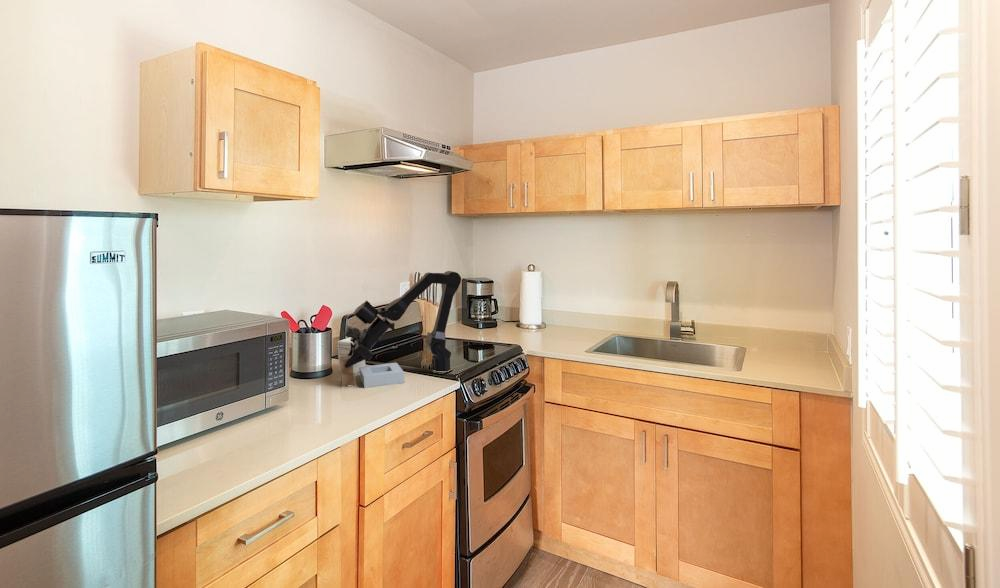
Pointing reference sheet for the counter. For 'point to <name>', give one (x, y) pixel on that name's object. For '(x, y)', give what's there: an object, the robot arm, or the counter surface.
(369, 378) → the well block
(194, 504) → the counter surface
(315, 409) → the counter surface
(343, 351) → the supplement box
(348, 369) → the walnut post
